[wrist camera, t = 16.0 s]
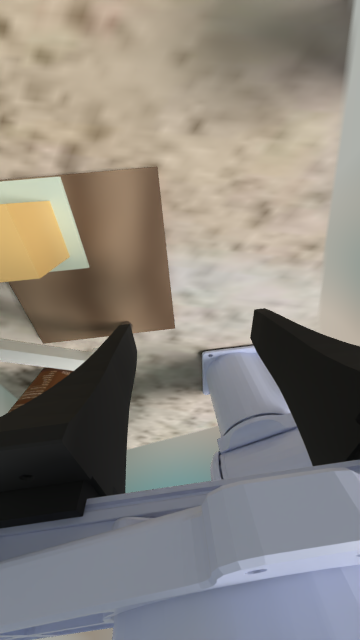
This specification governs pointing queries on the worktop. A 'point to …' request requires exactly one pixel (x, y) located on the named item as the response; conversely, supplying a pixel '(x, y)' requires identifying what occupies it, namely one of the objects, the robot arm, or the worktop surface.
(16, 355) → the strap
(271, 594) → the robot arm
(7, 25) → the worktop surface
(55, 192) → the sage mat
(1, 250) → the plug block
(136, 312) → the brown tray
